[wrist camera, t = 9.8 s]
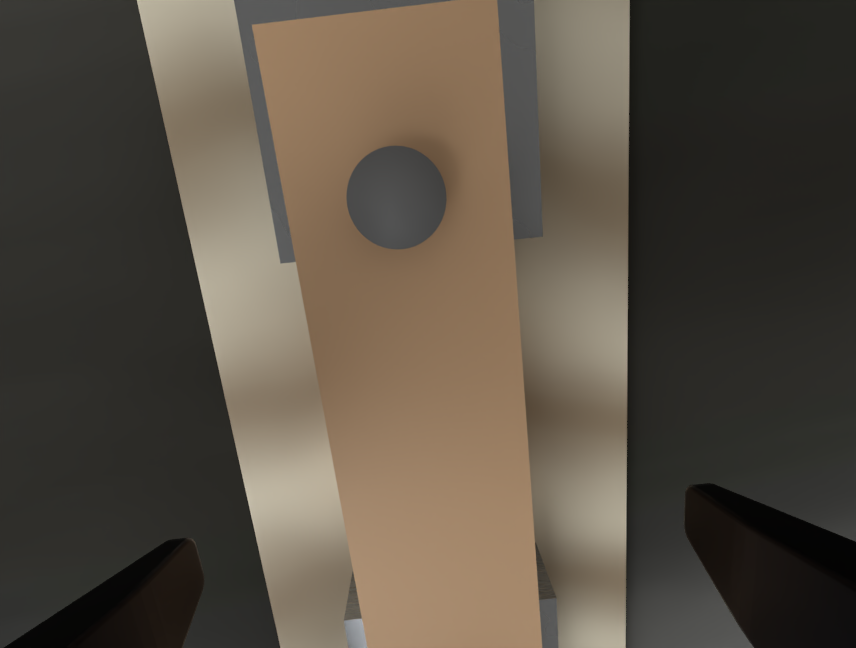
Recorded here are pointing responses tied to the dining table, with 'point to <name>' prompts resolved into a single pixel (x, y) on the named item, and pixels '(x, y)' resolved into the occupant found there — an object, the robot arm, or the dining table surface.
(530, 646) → the master link
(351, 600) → the lower chain end
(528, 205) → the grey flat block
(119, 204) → the dining table surface
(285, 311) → the board
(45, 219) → the dining table surface
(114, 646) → the robot arm
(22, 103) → the dining table surface
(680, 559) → the dining table surface
